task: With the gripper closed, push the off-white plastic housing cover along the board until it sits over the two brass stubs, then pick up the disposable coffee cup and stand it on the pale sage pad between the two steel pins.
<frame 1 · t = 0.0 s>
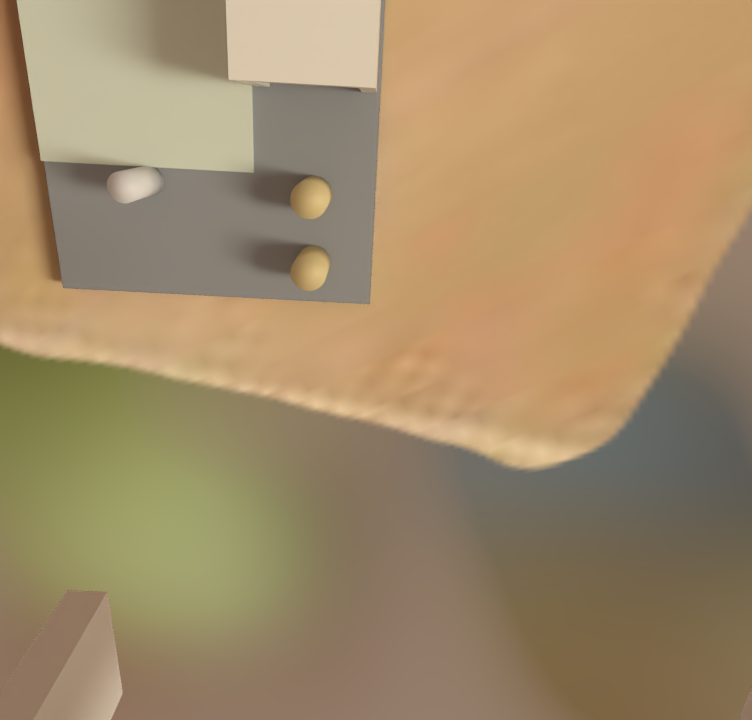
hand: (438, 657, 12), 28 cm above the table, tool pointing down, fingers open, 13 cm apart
board: (213, 113, 34), on the table
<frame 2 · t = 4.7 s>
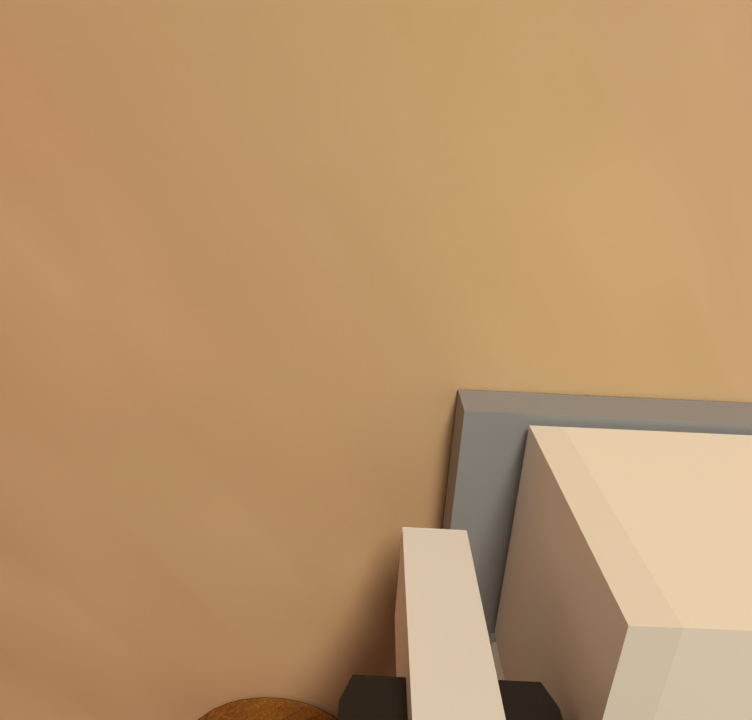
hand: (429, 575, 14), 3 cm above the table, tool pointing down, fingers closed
housing: (745, 638, 13), point 4 cm above the table, slide at 1.3 cm, touching gripper
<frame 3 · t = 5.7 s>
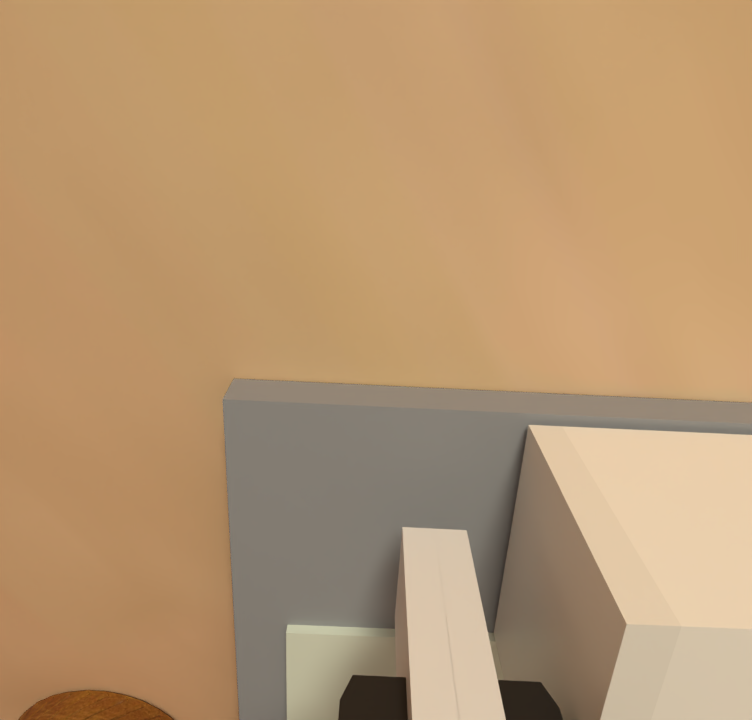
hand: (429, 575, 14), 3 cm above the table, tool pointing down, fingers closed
board: (574, 664, 19), on the table
housing: (743, 638, 13), point 4 cm above the table, slide at 7.1 cm, touching gripper
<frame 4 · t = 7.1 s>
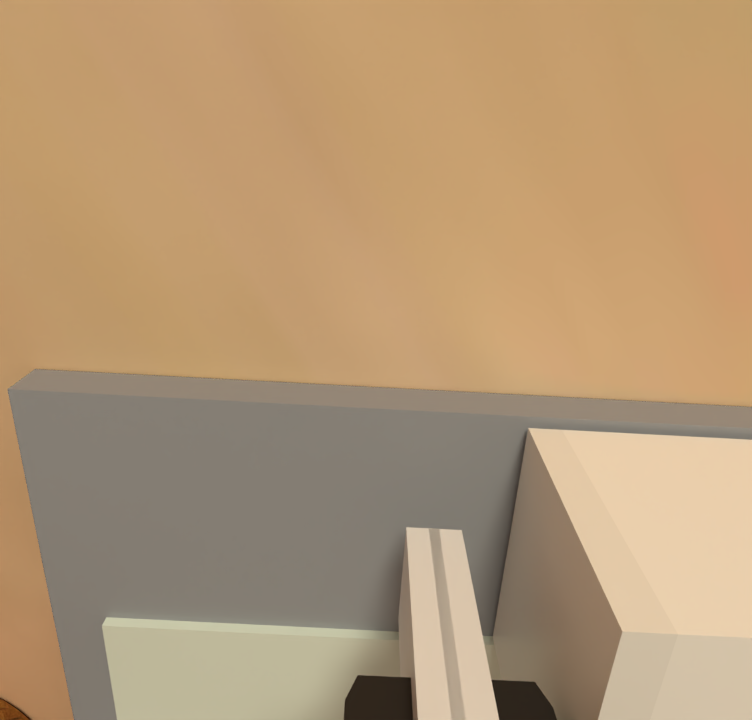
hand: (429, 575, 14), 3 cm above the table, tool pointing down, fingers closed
board: (416, 661, 19), on the table
housing: (744, 645, 13), point 4 cm above the table, slide at 12.1 cm, touching gripper
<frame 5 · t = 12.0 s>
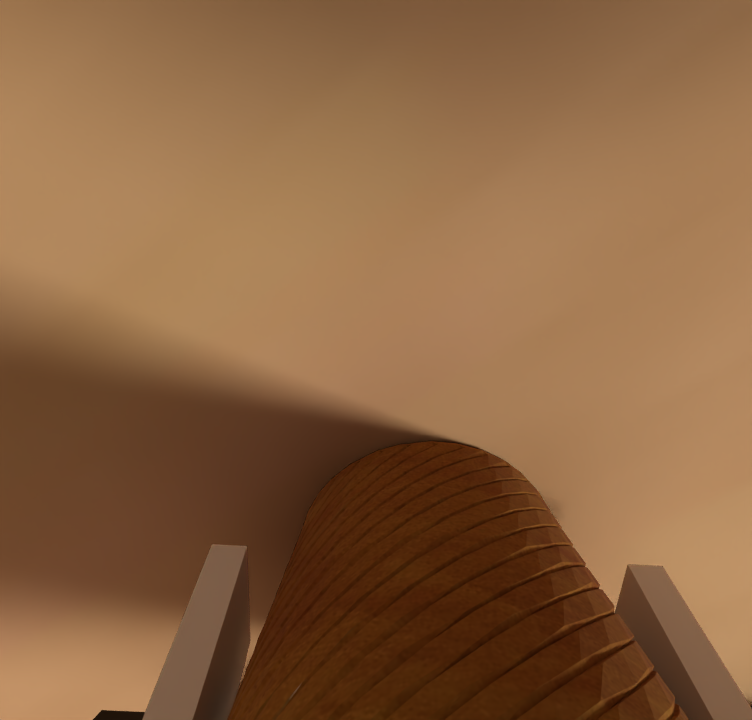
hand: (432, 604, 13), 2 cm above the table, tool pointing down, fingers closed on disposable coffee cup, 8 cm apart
disposable coffee cup: (426, 543, 15), on the table, touching gripper
when the fingers open (5 cm above the table, at t = 17.1 s): disposable coffee cup moves 3 cm, resting on board.
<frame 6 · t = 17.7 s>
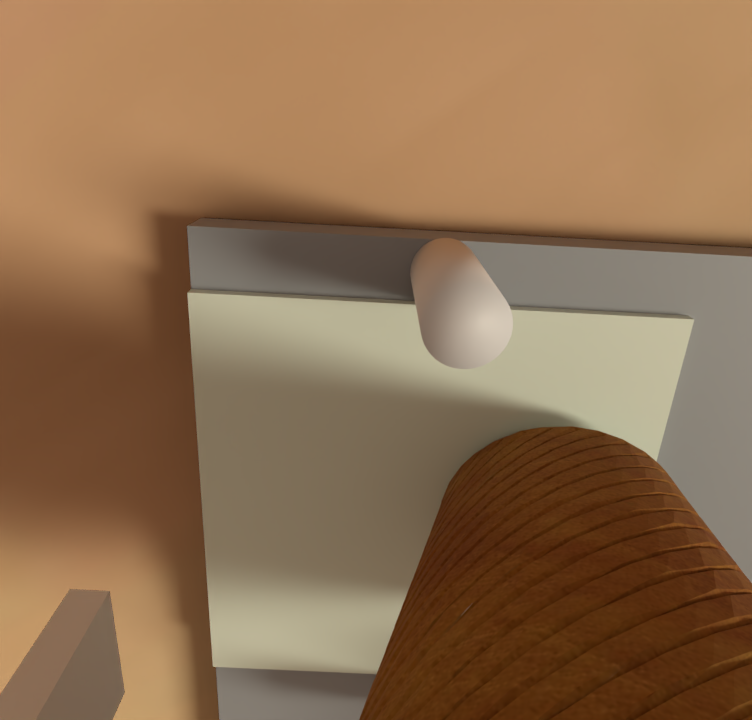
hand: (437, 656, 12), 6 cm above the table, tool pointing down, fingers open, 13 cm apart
disposable coffee cup: (557, 526, 16), point 2 cm above the table, touching board
board: (520, 570, 19), on the table
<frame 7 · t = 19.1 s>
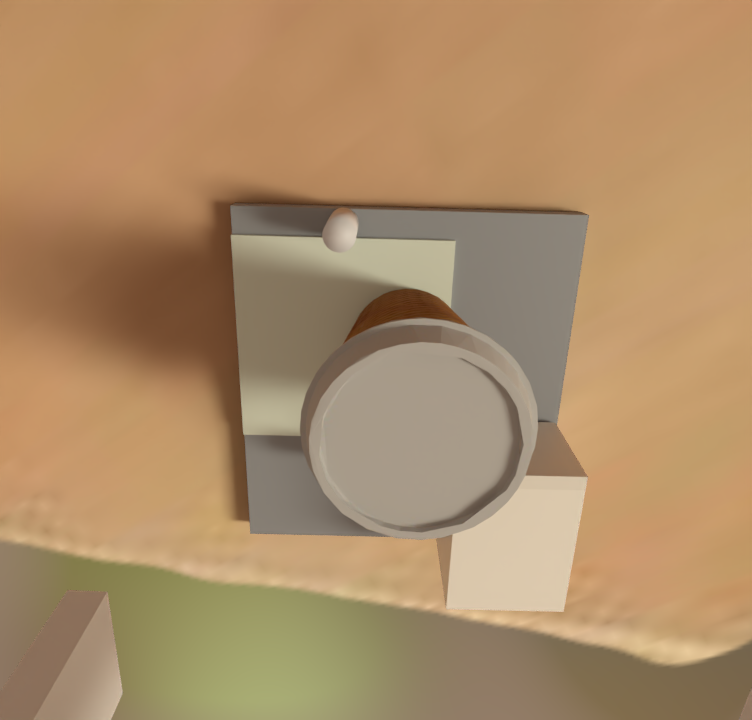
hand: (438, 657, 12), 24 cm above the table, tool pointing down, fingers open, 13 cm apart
disposable coffee cup: (406, 341, 34), point 1 cm above the table, touching board
board: (400, 383, 36), on the table
housing: (502, 512, 35), point 4 cm above the table, slide at 12.0 cm
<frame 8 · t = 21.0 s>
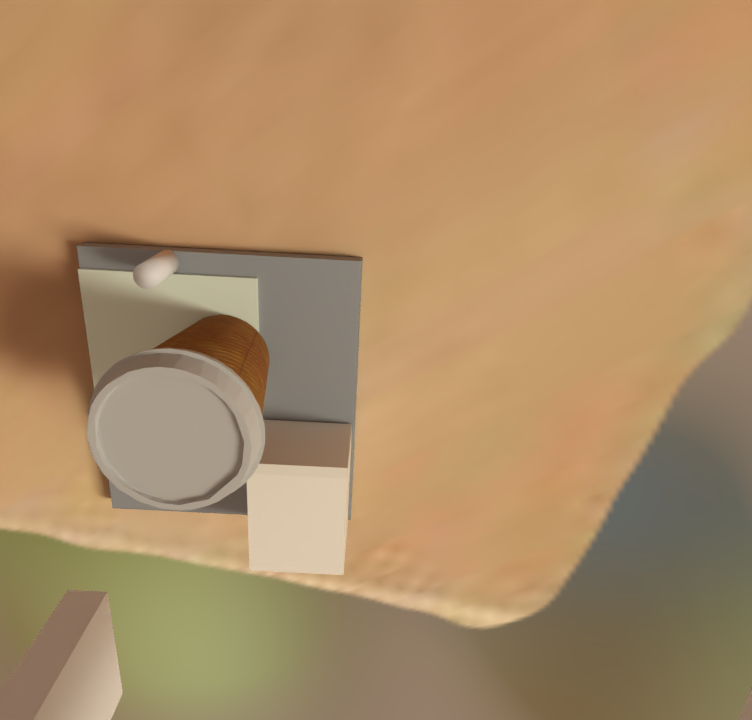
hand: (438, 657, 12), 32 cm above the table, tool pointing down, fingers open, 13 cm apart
disposable coffee cup: (226, 355, 42), point 1 cm above the table, touching board
board: (230, 388, 45), on the table
housing: (302, 495, 43), point 4 cm above the table, slide at 12.0 cm
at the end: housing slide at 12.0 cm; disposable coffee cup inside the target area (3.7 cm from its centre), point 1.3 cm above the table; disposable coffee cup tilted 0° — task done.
